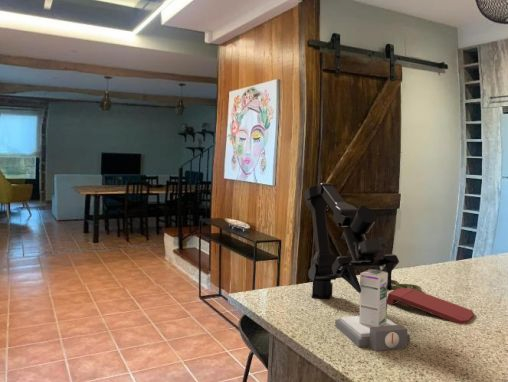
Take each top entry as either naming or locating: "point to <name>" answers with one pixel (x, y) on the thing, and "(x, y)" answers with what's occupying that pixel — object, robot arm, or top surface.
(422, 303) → the red wedge doorstop
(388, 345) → the kitchen scale
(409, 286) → the cookie cutter
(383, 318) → the syrup box
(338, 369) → the top surface
